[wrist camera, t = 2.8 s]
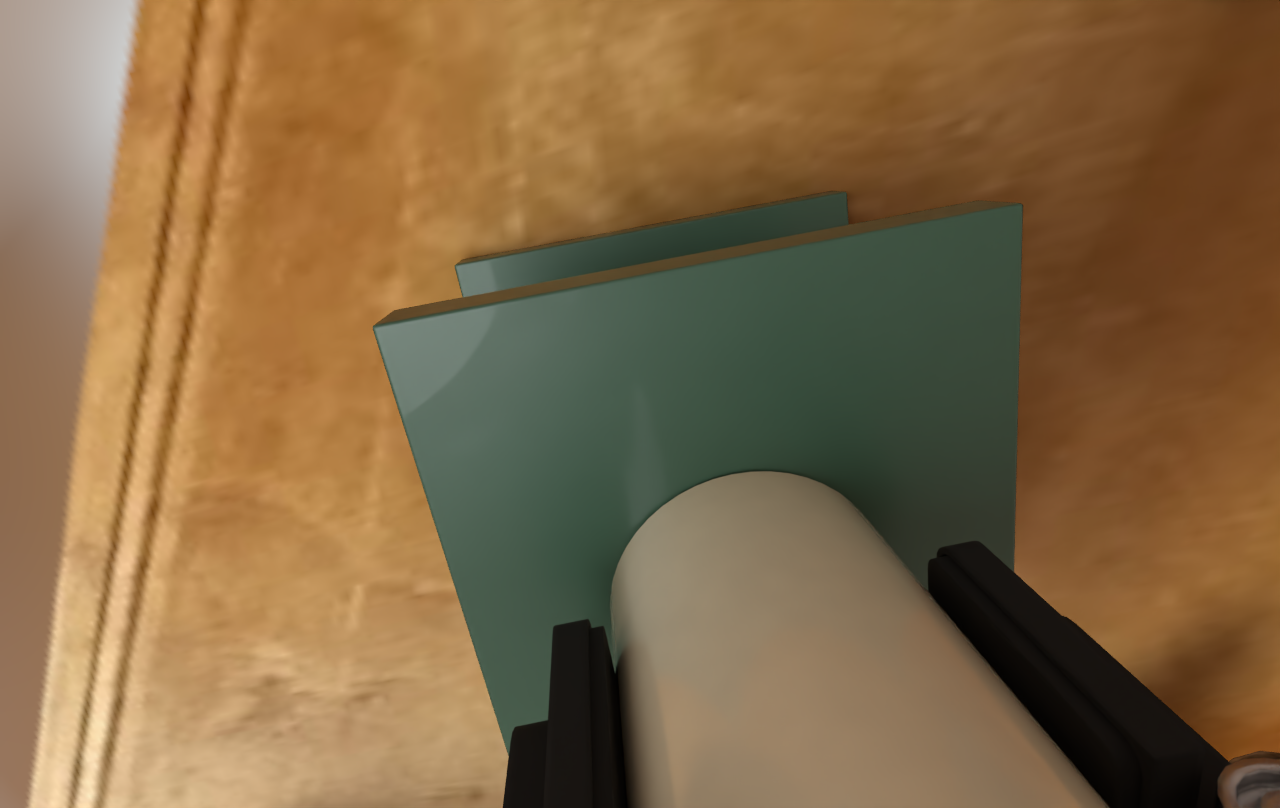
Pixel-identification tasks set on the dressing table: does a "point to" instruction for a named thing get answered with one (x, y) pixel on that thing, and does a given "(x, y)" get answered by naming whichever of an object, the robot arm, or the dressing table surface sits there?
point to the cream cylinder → (807, 667)
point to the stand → (705, 397)
